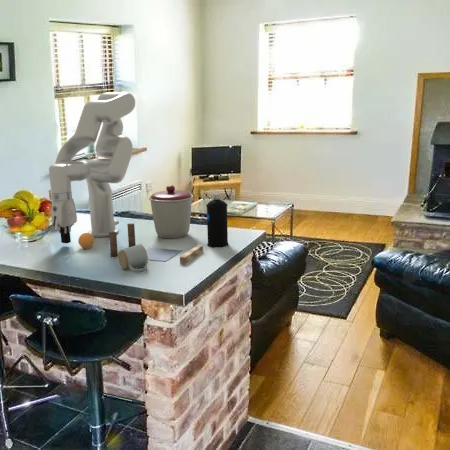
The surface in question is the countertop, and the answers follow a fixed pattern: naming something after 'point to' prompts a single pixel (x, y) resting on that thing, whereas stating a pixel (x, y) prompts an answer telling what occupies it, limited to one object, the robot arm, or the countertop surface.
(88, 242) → the ball
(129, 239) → the post
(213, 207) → the aerosol can
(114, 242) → the post
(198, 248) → the wall
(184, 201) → the canister
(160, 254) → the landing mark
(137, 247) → the ceramic mug
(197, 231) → the countertop surface
